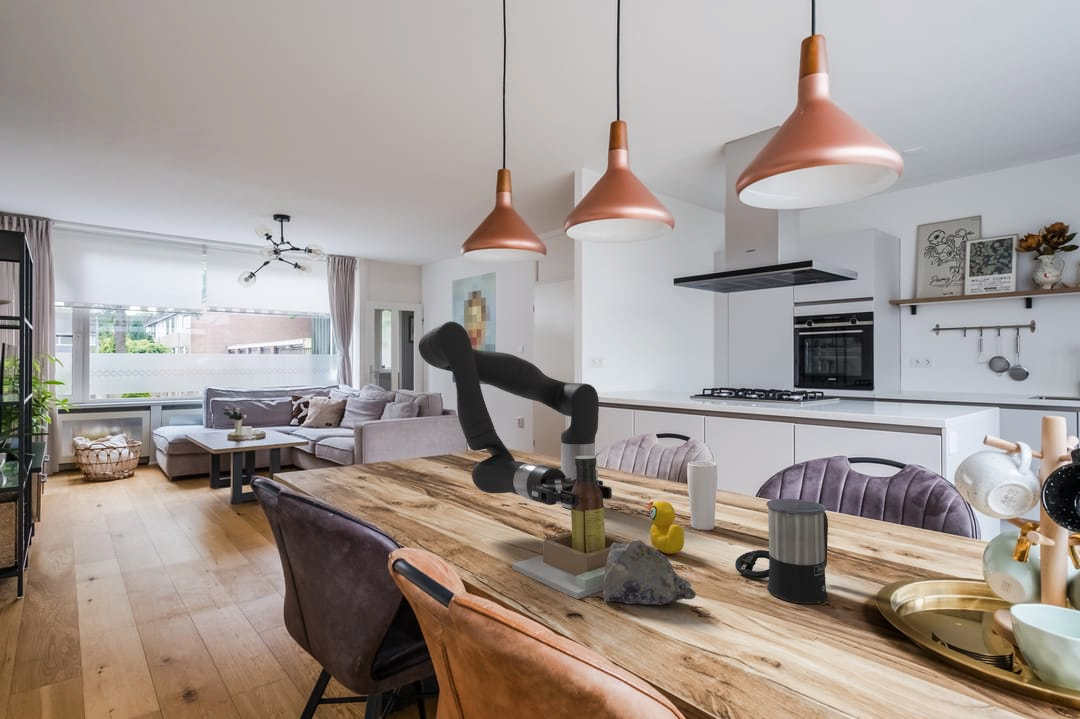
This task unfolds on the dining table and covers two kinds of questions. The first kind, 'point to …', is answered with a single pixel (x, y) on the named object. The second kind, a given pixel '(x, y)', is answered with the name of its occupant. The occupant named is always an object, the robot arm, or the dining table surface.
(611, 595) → the mineral rock
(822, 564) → the milk frother
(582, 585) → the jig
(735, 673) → the dining table surface
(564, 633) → the dining table surface
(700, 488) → the white tumbler
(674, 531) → the duckling
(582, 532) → the sauce bottle
